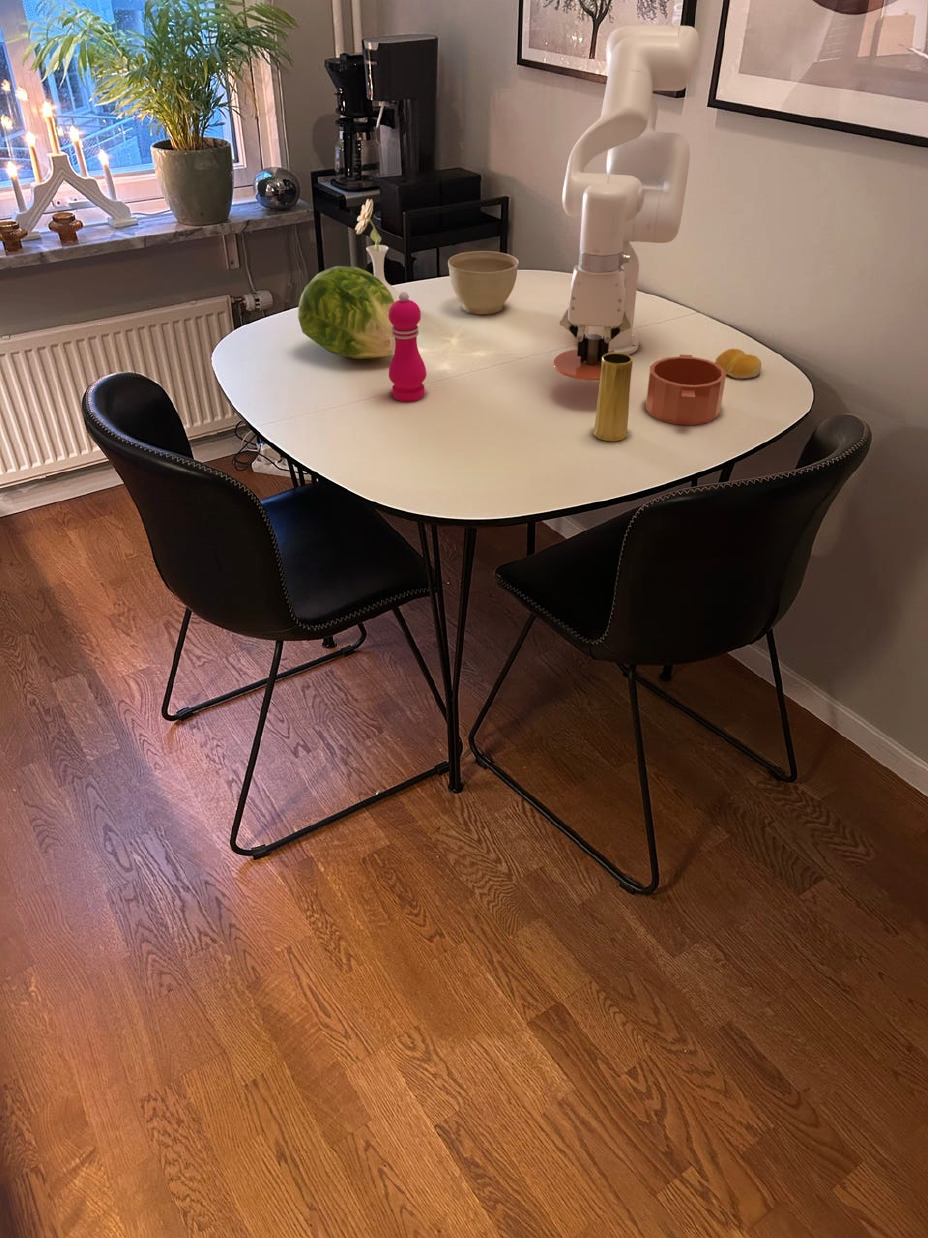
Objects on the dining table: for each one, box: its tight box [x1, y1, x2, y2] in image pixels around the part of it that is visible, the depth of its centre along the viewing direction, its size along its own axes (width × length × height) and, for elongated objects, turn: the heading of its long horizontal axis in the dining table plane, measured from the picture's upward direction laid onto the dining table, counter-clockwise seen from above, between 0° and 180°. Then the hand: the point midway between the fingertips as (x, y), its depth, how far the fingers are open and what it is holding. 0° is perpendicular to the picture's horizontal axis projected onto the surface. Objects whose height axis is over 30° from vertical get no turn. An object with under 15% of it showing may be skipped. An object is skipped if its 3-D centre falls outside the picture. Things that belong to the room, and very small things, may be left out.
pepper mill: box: [388, 291, 427, 402], centre depth 175 cm, size 7×7×20 cm
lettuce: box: [297, 265, 395, 360], centre depth 194 cm, size 18×23×19 cm
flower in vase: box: [354, 198, 401, 302], centre depth 211 cm, size 13×11×25 cm
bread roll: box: [714, 348, 762, 380], centre depth 187 cm, size 8×9×4 cm
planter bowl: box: [447, 250, 520, 315], centre depth 216 cm, size 16×16×11 cm
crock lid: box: [553, 334, 613, 382], centre depth 176 cm, size 15×15×6 cm
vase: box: [592, 352, 634, 442], centre depth 163 cm, size 6×6×14 cm
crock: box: [645, 354, 727, 426], centre depth 173 cm, size 14×19×8 cm
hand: (592, 359), depth 176 cm, fingers closed on crock lid, 3 cm apart
